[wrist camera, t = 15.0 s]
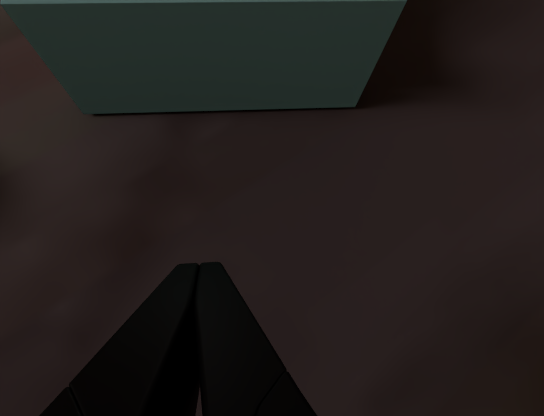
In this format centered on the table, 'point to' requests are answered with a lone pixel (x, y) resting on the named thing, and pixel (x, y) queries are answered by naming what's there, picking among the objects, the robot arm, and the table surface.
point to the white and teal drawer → (208, 51)
